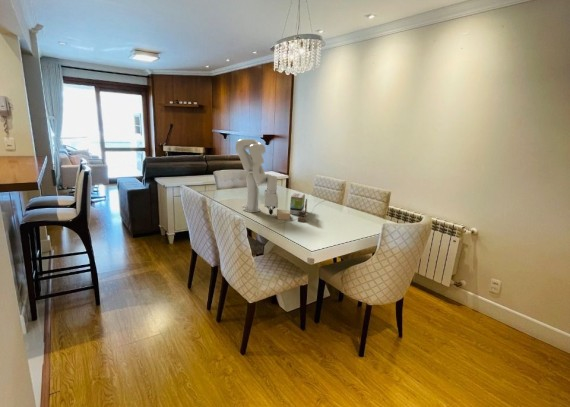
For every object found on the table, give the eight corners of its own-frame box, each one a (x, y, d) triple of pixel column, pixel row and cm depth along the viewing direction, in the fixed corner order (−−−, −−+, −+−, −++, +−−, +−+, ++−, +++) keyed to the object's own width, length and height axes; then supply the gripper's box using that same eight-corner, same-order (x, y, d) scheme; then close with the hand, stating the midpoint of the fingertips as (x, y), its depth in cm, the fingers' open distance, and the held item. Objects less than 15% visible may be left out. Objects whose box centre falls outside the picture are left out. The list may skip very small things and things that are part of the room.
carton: (278, 219, 236) (278, 213, 235) (276, 215, 248) (277, 209, 246) (289, 219, 237) (290, 213, 236) (287, 215, 249) (288, 209, 247)
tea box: (301, 215, 250) (302, 197, 247) (289, 213, 252) (290, 196, 249) (304, 210, 265) (305, 193, 261) (292, 209, 267) (293, 192, 263)
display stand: (297, 221, 232) (298, 203, 229) (298, 214, 250) (299, 198, 247) (305, 222, 232) (306, 204, 229) (306, 215, 250) (307, 198, 247)
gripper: (261, 192, 235) (260, 215, 239) (280, 193, 234) (279, 216, 238) (262, 190, 242) (262, 212, 247) (281, 191, 241) (280, 213, 246)
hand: (270, 214), depth 243 cm, fingers closed
